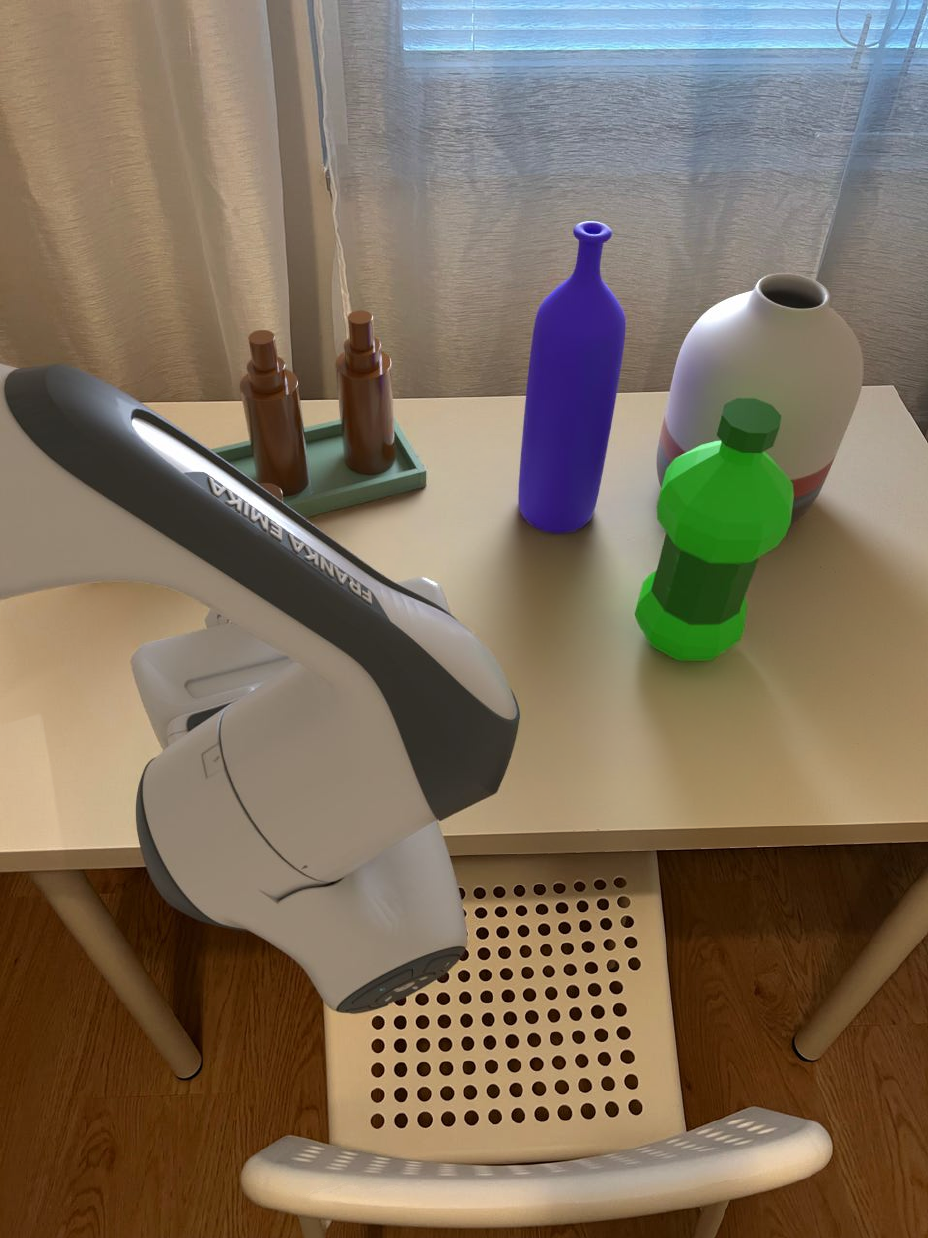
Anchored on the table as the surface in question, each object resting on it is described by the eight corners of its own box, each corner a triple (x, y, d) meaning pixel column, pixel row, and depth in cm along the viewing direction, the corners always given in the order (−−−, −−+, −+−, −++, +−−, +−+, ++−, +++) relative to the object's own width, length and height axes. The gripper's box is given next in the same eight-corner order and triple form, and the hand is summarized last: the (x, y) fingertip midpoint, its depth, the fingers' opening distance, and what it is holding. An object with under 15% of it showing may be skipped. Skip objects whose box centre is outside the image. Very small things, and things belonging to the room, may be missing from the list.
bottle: (598, 537, 95) (650, 256, 72) (516, 535, 95) (543, 253, 72) (592, 483, 100) (639, 206, 78) (515, 481, 100) (538, 202, 78)
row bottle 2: (353, 480, 99) (341, 337, 86) (337, 449, 102) (323, 307, 89) (402, 467, 100) (397, 326, 87) (385, 437, 104) (378, 296, 91)
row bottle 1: (265, 502, 96) (239, 359, 83) (251, 469, 99) (224, 327, 87) (316, 489, 98) (299, 346, 85) (301, 457, 101) (282, 315, 88)
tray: (122, 565, 91) (116, 549, 89) (103, 490, 98) (97, 475, 96) (426, 486, 99) (426, 470, 98) (389, 423, 106) (388, 407, 105)
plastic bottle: (703, 586, 91) (774, 363, 72) (759, 668, 84) (853, 447, 65) (608, 609, 88) (656, 385, 70) (658, 695, 82) (725, 474, 63)
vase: (763, 435, 106) (829, 234, 88) (841, 536, 96) (934, 330, 78) (624, 459, 103) (664, 254, 85) (689, 566, 92) (750, 358, 75)
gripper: (490, 658, 56) (418, 509, 65) (140, 751, 51) (112, 577, 60) (485, 719, 61) (419, 573, 69) (164, 809, 56) (135, 640, 64)
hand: (274, 575), depth 64 cm, fingers closed on amber bottle, 5 cm apart
